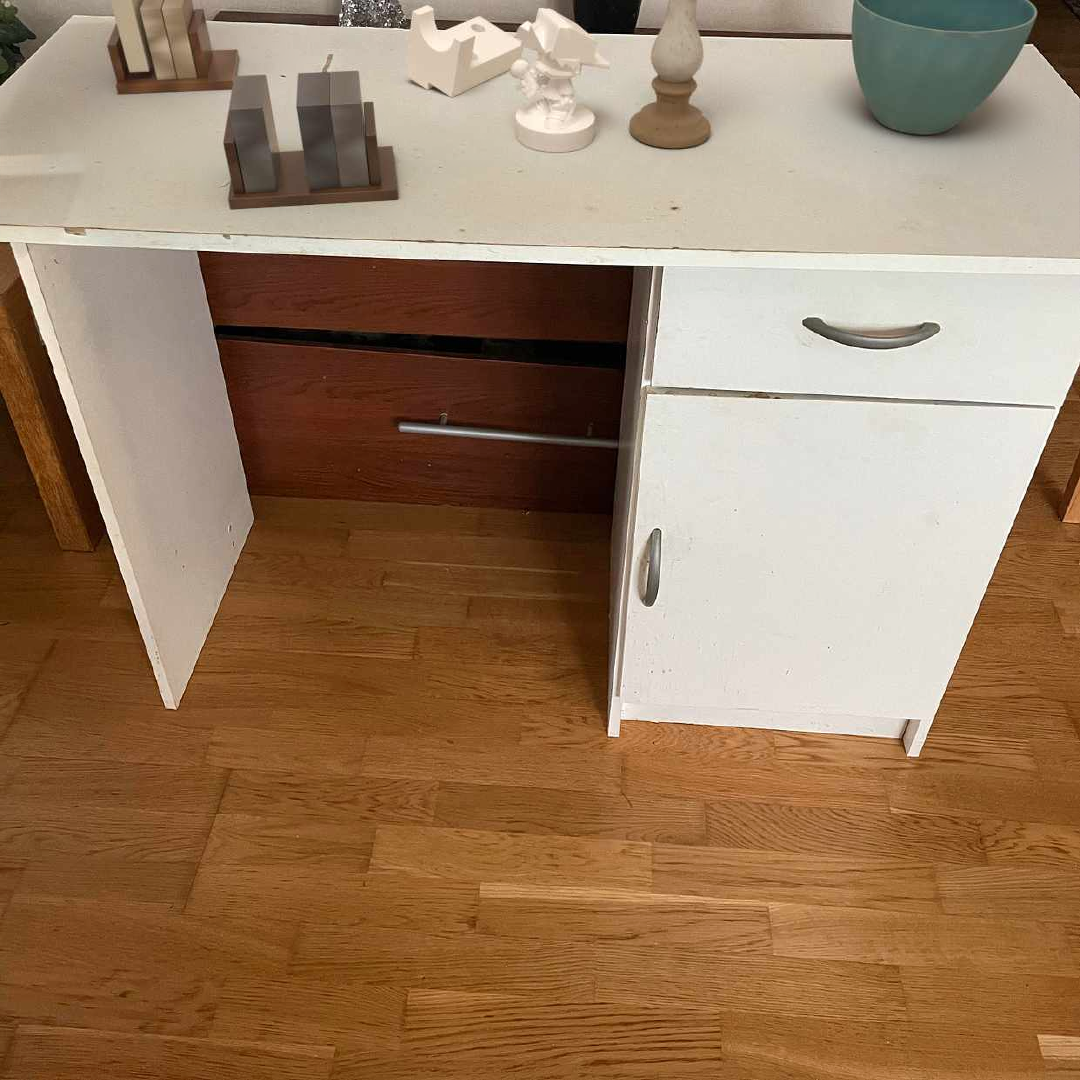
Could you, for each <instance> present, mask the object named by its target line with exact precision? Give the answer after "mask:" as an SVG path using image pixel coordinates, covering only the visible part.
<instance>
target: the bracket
mask: <svg viewBox="0 0 1080 1080" xmlns="http://www.w3.org/2000/svg"><path fill="white" fill-rule="evenodd" d="M514 37H515V36H512V35H510V34H509V33H508V32H506V31H504V30H502V29H501V28H499V27H498V26H496V25H494V24H493V23H491V22H490V21H488V20H486V19H485V18H483V17H482V16H480V15H478V16H476V17H474V18H471V19H468V20H466V21H463V22H461V23H459V24H457V25H455V26H452V27H450V28H447V29H445V30H443V31H440V32H439V30H438V27H437V25H436V21H435V9H434V8H433V7H432V6H430V5H429V4H427V5H425V6H422V7H419V8H417V9H415V10H412V11H411V19H410V28H409V36H408V44H407V53H406V60H405V61H406V62H405V69H404V76H405V77H407V78H409V79H410V80H412V81H413V82H415V83H416V84H417V85H419V86H421V88H423V89H425V90H430V89H432V88H434V87H435V88H436V89H438V90H439V91H441V92H442V93H444V94H445V95H447V96H448V97H450V98H453V97H455V96H458V95H460V94H462V93H464V92H466V91H469V90H470V89H472V88H475V87H477V86H479V85H480V84H481V85H482V84H483V83H485V82H487V81H489V80H491V79H493V78H495V77H497V76H499V75H501V74H503V73H505V72H508V71H511V67H512V65H513V63H514V62H515V61H517V60H520V59H522V56H523V51H524V47H520V46H521V43H522V41H521V40H519V39H518V38H514Z"/></svg>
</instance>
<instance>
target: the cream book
mask: <svg viewBox="0 0 1080 1080" xmlns="http://www.w3.org/2000/svg"><path fill="white" fill-rule="evenodd" d="M142 2H143V0H110V4H111V7H112V11H113V15H114V19H115V22H116V23H117V27H118V31H119V34H120V38H121V42H122V46H123V50H124V53H125V57H126V61H127V65H128V68H129V72H149V70H150V67H151V64H152V61H153V60H152V56H151V52H150V48H149V44H148V40H147V36H146V32H145V28H144V24H143V20H142V16H141V12H140V8H141V5H142ZM116 23H115V24H116Z"/></svg>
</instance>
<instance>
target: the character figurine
mask: <svg viewBox="0 0 1080 1080" xmlns="http://www.w3.org/2000/svg"><path fill="white" fill-rule="evenodd" d="M513 37H514V38H515V39H517V40H519V41H521V46H520V47H523V49H528V50H531V51H535V52H537V57H538V58H537V59H536V60H535V61H534V67H533V68H531V69H530V65H529V62H528V61H527V60H526V59H523V58H521V59H520V60H517V61H515V62H514V63H513V65H512V67H511V69H510V74H511V77H512V78H514V79H516V80H520V81H519V82H517V83H516V84H515V85H514V86H515V88H516V89H517V91H521V92H522V94H523V95H524V97H525V98H526V99H529V98H531V97H533V96H534V95H535V94H537V93H538V92H539V91H540V90H541V89H542V90H541V92H540V94H541V96H542V98H541V99H537V100H536V101H533V102H531V103H528V104H525V105H524V106H522V107H520V108H519V109H518V110H517V111H516V113H515V117H514V118H515V120H514V121H515V125H514V126H515V132H514V133H515V138H516V140H517V141H518V142H519V143H520V144H521V145H523V146H525V147H527V148H529V149H532V150H535V151H539V152H546V153H568V152H569V153H570V152H574V151H579V150H581V149H583V148H585V147H587V146H589V145H590V144H591V143H592V142H593V141H594V138H595V137H594V136H595V120H596V119H595V114H594V113H593V112H592V111H591V110H590V109H589V108H588V107H586V106H583V105H581V104H578V103H576V100H575V99H574V98H573V97H574V96H575V95H576V94H575V88H574V85H573V81H572V79H573V78H575V77H578V76H580V77H581V72H582V67H583V65H584V66H587V67H592V68H593V67H594V68H599V69H607V70H609V69H610V66H611V64H610V63H609V62H608V60H606V59H605V58H604V57H603V56H602V55H600V54H599V53H598V52H597V46H598V41H597V39H596V38H594V37H593V36H592V35H591V34H590V33H588V32H587V31H586V30H585V29H583V27H581V26H580V25H579V24H578V23H576V22H575V21H572V20H570V19H569V18H567V17H565V16H564V15H562V14H561V13H559V12H558V11H556V10H555V9H551V8H543V7H539V8H538V9H537V13H536V18H535V21H534V22H533V23H531V22H530V21H529V20H526V21H525V22H524V23H522V24H521V25H519V26H518V28H517V30H516V33H515V35H514V36H513ZM540 74H541V75H540ZM542 86H544V87H543V88H542Z"/></svg>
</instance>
